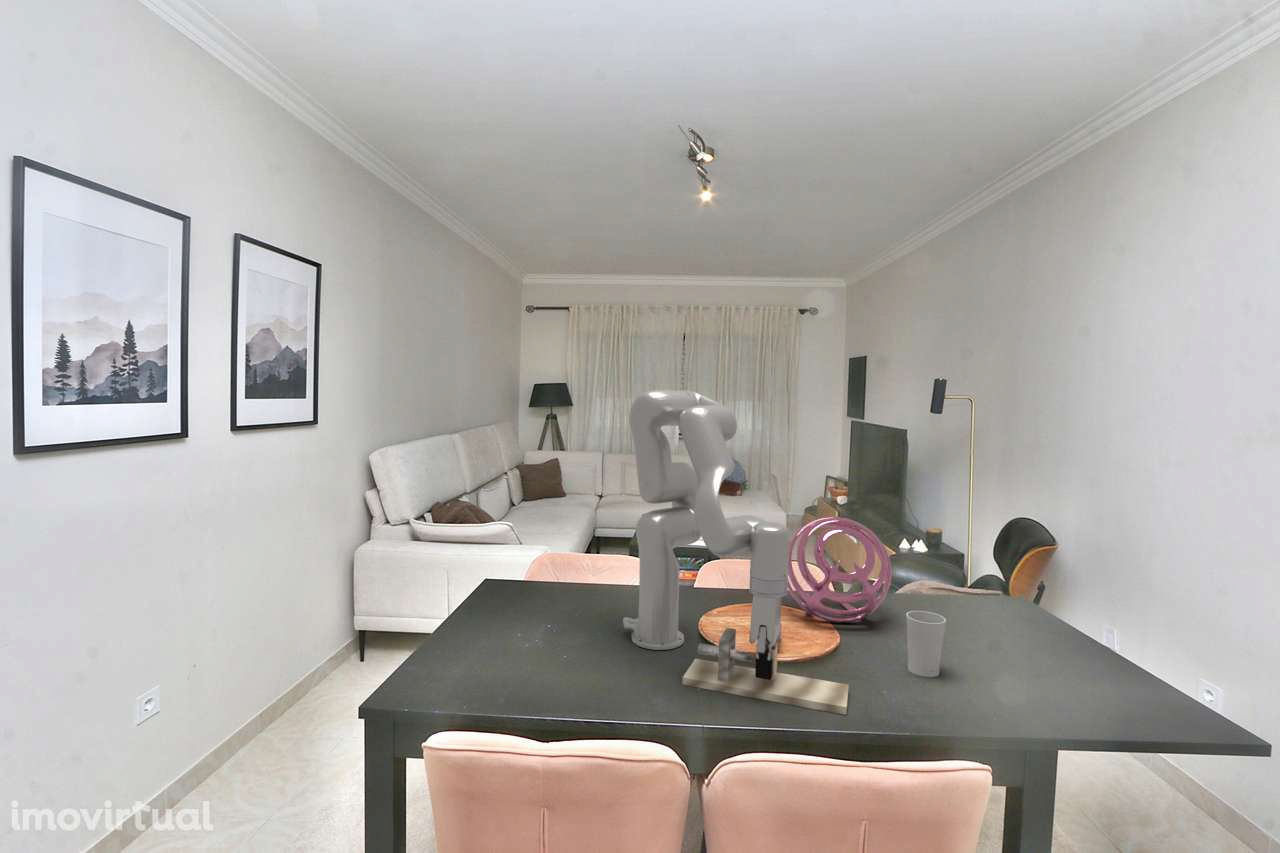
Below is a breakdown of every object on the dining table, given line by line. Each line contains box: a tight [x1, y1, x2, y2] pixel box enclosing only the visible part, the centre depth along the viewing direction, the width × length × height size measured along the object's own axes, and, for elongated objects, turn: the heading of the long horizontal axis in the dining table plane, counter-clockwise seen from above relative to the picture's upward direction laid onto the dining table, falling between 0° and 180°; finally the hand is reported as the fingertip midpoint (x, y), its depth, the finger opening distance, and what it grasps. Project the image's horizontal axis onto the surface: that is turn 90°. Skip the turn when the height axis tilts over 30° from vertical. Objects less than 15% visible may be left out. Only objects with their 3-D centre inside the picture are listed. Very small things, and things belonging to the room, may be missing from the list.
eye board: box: [681, 627, 850, 716], centre depth 130 cm, size 32×10×10 cm, turn 70°
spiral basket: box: [787, 516, 893, 624], centre depth 174 cm, size 28×28×27 cm
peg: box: [697, 641, 779, 680], centre depth 132 cm, size 16×4×6 cm, turn 70°
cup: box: [905, 610, 947, 678], centre depth 140 cm, size 8×8×12 cm
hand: (765, 672), depth 130 cm, fingers closed on peg, 4 cm apart
